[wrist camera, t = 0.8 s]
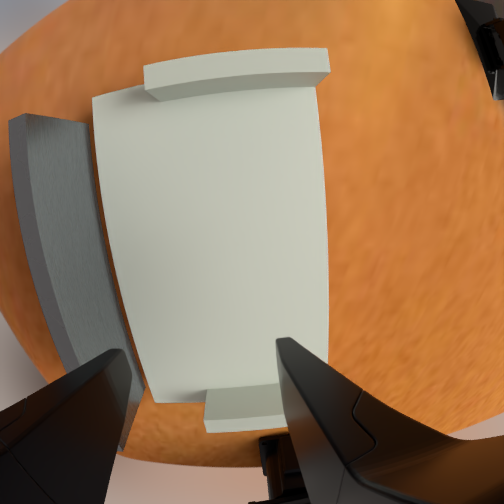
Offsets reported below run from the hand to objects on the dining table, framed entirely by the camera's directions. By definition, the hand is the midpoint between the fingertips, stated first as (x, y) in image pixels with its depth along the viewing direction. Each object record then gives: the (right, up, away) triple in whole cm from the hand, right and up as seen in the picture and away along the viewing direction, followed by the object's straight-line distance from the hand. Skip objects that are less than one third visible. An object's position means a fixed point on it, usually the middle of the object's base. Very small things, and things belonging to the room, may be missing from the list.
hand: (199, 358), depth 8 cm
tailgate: (-6, +2, +9) cm, 11 cm away
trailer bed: (0, +3, +11) cm, 12 cm away
